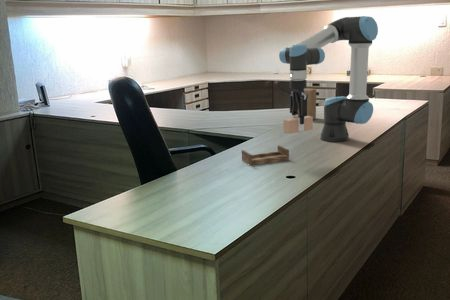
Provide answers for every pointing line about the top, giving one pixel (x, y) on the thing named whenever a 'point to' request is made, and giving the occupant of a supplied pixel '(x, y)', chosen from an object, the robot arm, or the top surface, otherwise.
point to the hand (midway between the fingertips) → (298, 129)
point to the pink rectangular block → (292, 124)
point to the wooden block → (310, 102)
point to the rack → (266, 156)
